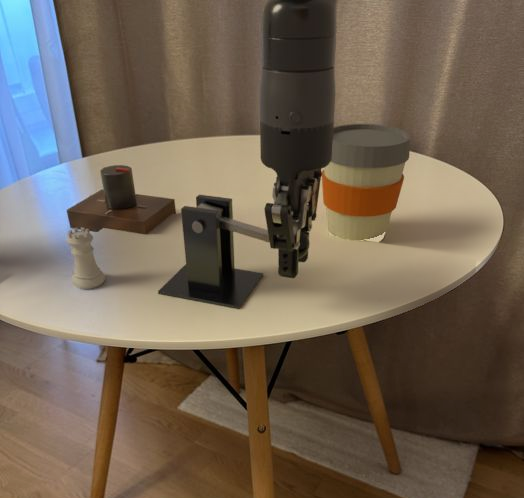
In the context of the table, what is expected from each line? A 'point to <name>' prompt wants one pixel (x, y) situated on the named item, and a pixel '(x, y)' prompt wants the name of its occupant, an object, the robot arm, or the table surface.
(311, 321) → the table surface
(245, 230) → the ball knob lever
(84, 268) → the rook chess piece
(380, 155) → the reusable coffee cup
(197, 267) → the black lever stand
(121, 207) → the knob
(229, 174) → the table surface
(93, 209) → the wooden knob base
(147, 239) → the table surface
